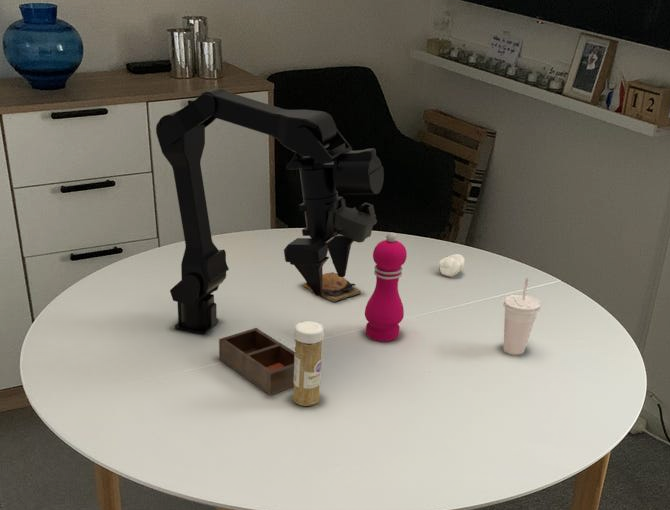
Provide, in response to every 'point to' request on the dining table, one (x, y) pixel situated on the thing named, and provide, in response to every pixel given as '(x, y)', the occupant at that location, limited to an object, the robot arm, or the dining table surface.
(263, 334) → the wooden divided tray
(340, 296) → the burger on wooden board
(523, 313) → the smoothie
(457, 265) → the dumpling
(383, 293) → the pepper mill
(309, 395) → the sprinkles bottle
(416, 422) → the dining table surface
